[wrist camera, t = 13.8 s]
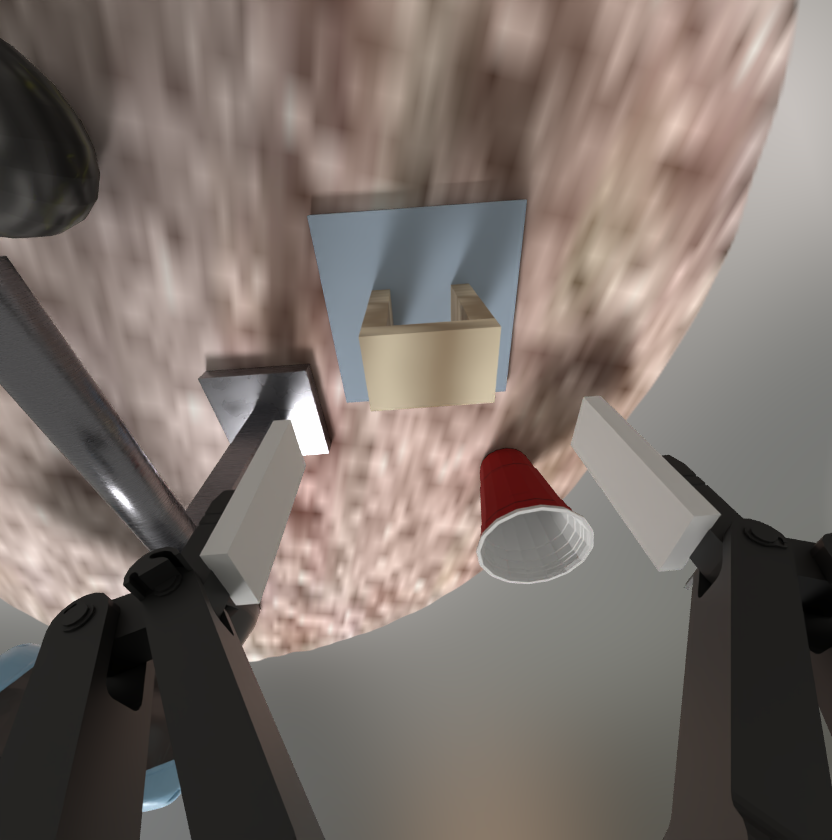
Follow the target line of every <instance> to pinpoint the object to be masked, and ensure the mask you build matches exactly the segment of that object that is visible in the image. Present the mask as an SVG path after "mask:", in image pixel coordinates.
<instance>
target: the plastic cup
mask: <svg viewBox="0 0 832 840" xmlns="http://www.w3.org/2000/svg"><path fill="white" fill-rule="evenodd" d="M480 481H481V487H480V497H481V518H482V525H481V535H480V540H479V543H478V546H477V551H476V552H477V556H478V560H479V564H480V566H481V567H482V568H483V569H484V570H485V571H486V572H487V573H489V574H490V576H492V577H495V578H498V579H500V580H503V581H505V582H510V583H521V584H531V583H538V582H544V581H550V580H552V579H555V578H557V577H560V576H562V575H564V574H567V573H569V572H570V571H572V570H573V569H574V568H575V567H577V566H578V565H580V564H581V563H582V562H583V561H585V559H586V558H587V556H588V554H589V553H590V551H591V550H592V548H593V545H594V531H593V530H592V528H591V527H590V525H589V524H588V522H587V521H586V520H585V518H584V517H583V516H581V515H580V514H578V513H576V512H574V511H572V510H571V508H570V507H568V506H567V505H566V504H565V503H564V501H563V500H561V499H560V498H559V497H558V495H557V494H556V493H555V491H554V490H553V489H552V488H551V486H550V485H549V484H548V483H547V481H546V480H545V479H544V478H543V476H542V475H541V474H540V473H539V471H538V470H537V469H536V468H534V466H533V465H532V464H531V462H530V461H529V460H528V458H527V457H526V456H525V455H524V454H523V453H522V452H520V451H518V450H516V449H509V448H505V449H500V450H496V451H494V452H492V453H491V454H489V455H488V456H487V457H486V458H485V459H484V460H483V461H482V464H481V467H480Z"/></svg>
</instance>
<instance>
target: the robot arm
mask: <svg viewBox="0 0 832 840" xmlns="http://www.w3.org/2000/svg"><path fill="white" fill-rule="evenodd" d="M571 446H572V448H573V449H574V450H575V452H576V453H577V455H578V456H579V458H580V459H581V460H582V462H583V463H584V465H585V466H586V468H587V469H588V470H589V472H590V473H591V475H592V476H593V478H594V479H595V481H596V482H597V483H598V485H599V486H600V488H601V489H602V491H603V492H604V493H605V495H606V496H607V498H608V499H609V501H610V502H611V503H612V505H613V506H614V508H615V509H616V511H617V512H618V513H619V515H620V516H621V518H622V519H623V521H624V522H625V524H626V525H627V526H628V528H629V529H630V531H631V532H632V533H633V535H634V536H635V538H636V539H637V541H638V542H639V544H640V545H641V547H642V548H643V549H644V551H645V552H646V554H647V555H648V556H649V558H650V559H651V561H652V562H653V564H654V565H655V566H656V568H657V569H658V571H668V570H669V571H670V570H682V569H683V567H684V566H685V564H686V563H687V562H688V560H689V559H691V560H692V562H693V563H694V564H695V565H696V567H697V569H696V571H695V572H694V573H693V575H692V576H691V578H690V579H689V580H688V581H687V583H686V585H685V587H684V588H685V589H689V588H690V587H691V585H693V587H692V598H691V609H690V620H689V621H690V622H689V631H688V642H687V653H686V664H685V676H684V686H683V696H682V707H681V719H680V729H679V740H678V750H677V761H676V773H675V783H674V794H673V805H672V814H671V820H670V824H669V828H668V830H667V832H666V834H665V836H664V838H663V840H832V786H831V779H830V773H829V766H828V761H827V755H826V748H825V742H824V736H823V730H822V724H821V718H820V712H819V707H820V710H821V712H822V715H823V717H824V719H825V722H826V724H827V726H828V729H829V731H830V733H831V736H832V533H830V534H825V535H824V536H823V537H822V538H821V539H820V540H819V541H818V542H817V543H813V542H807V541H801V540H796V539H790V538H785V537H784V536H783V535H782V534H781V533H780V532H778V531H777V530H775V529H774V528H772V527H771V526H769V525H766V524H764V523H761V522H760V521H756V520H752V519H743V518H742V517H741V516H740V515H739V514H738V513H736V511H735V510H734V509H732V508H731V507H730V506H729V505H728V504H727V503H726V502H725V501H724V500H723V499H722V498H721V497H719V496H718V495H717V494H716V493H715V492H714V491H713V490H712V489H711V488H710V487H709V486H708V485H705V482H704V481H702V480H701V479H700V478H699V477H696V474H695V473H694V472H693V471H692V470H690V468H688V467H687V466H686V465H685V464H684V463H682V462H681V461H679V460H677V459H675V458H674V457H672V456H670V455H664V456H663V455H662V456H661V455H660V454H659V453H658V452H657V451H656V450H655V449H654V448H653V447H652V446H651V445H650V444H649V443H648V442H647V441H646V440H645V439H644V438H643V437H642V436H641V435H640V434H639V433H638V432H637V431H636V430H635V429H634V428H633V427H632V426H631V425H630V424H629V423H628V422H627V421H626V420H625V419H624V418H623V417H622V416H621V415H620V414H619V413H618V412H617V411H616V410H615V409H614V408H612V407H611V406H610V405H609V404H608V403H607V402H606V401H605V400H604V399H603V398H602V397H601V396H588V397H583V400H582V404H581V408H580V411H579V415H578V419H577V423H576V426H575V430H574V434H573V438H572V441H571ZM305 467H306V464H305V461H304V458H303V455H302V452H301V449H300V446H299V443H298V440H297V437H296V434H295V431H294V428H293V425H292V422H291V419H289V420H276V421H273V422H272V424H271V426H270V428H269V430H268V431H267V433H266V435H265V437H264V439H263V441H262V442H261V444H260V446H259V448H258V450H257V452H256V453H255V455H254V457H253V459H252V461H251V462H250V464H249V466H248V468H247V470H246V472H245V473H244V475H243V477H242V479H241V481H240V483H239V484H238V486H237V488H236V490H225V491H223V492H222V493H221V494H220V495H219V496H217V497H216V498H215V499H214V500H213V501H212V502H211V504H210V506H209V507H208V509H207V511H206V512H205V516H203V517H202V519H201V521H200V522H199V526H197V527H196V529H195V531H194V532H193V534H192V536H191V537H190V539H189V540H188V542H187V544H186V545H185V547H184V549H183V550H182V552H181V553H180V552H179V551H178V550H177V549H176V548H173V547H163V548H158V549H156V550H154V551H151V552H149V553H147V554H146V555H144V556H143V557H141V558H140V559H138V560H137V561H136V562H135V563H134V564H133V565H132V566H131V567H130V568H129V570H128V572H127V573H126V575H125V577H124V583H123V585H124V586H125V587H126V588H127V589H128V590H129V591H130V592H131V593H130V594H127V595H125V596H122V597H119V598H116V599H113V600H111V599H110V598H109V597H108V596H106V595H105V594H104V593H92V594H89V595H86V596H83V597H81V598H80V599H78V600H76V601H74V602H72V603H71V604H70V605H68V606H67V607H66V608H64V609H63V610H62V611H61V612H60V613H59V614H58V615H57V616H56V617H55V618H54V619H53V621H52V622H51V624H50V626H49V627H48V629H47V631H46V634H45V637H44V639H43V642H42V645H37V644H31V643H30V644H29V643H27V644H21V645H18V646H15V647H13V648H11V649H9V650H7V651H6V652H4V653H3V654H1V655H0V840H140V830H141V819H142V812H144V811H149V810H154V809H158V808H161V807H164V806H167V805H169V804H170V803H172V802H173V801H174V800H175V799H176V798H177V797H178V796H179V795H180V794H181V793H182V798H183V802H184V807H185V811H186V816H187V821H188V825H189V830H190V835H191V839H192V840H325V838H324V835H323V833H322V831H321V828H320V826H319V824H318V821H317V819H316V817H315V815H314V812H313V810H312V807H311V805H310V803H309V800H308V798H307V796H306V794H305V791H304V789H303V787H302V784H301V782H300V780H299V777H298V775H297V773H296V770H295V768H294V766H293V763H292V761H291V759H290V756H289V754H288V752H287V749H286V747H285V745H284V743H283V740H282V738H281V736H280V734H279V731H278V729H277V726H276V724H275V722H274V719H273V717H272V715H271V712H270V710H269V708H268V705H267V703H266V701H265V698H264V696H263V694H262V692H261V689H260V687H259V685H258V682H257V680H256V678H255V675H254V673H253V671H252V668H251V666H250V664H249V661H248V659H247V657H246V654H245V652H244V650H243V647H242V645H243V644H244V642H245V641H246V639H247V638H248V636H249V634H250V633H251V632H252V630H253V629H254V627H255V625H256V622H257V619H258V616H259V613H260V607H259V605H258V604H259V603H260V601H261V598H262V595H263V592H264V589H265V586H266V583H267V580H268V577H269V574H270V571H271V568H272V565H273V562H274V559H275V556H276V553H277V550H278V547H279V544H280V541H281V538H282V535H283V532H284V529H285V527H286V524H287V521H288V518H289V515H290V512H291V509H292V506H293V503H294V500H295V497H296V494H297V491H298V488H299V485H300V482H301V479H302V476H303V473H304V470H305Z"/></svg>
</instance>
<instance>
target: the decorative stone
mask: <svg viewBox="0 0 832 840" xmlns="http://www.w3.org/2000/svg"><path fill="white" fill-rule="evenodd" d="M99 176H100V172H99V167H98V163H97V159H96V154H95V150H94V147H93V145H92V143H91V141H90V139H89V137H88V135H87V133H86V130H85V128H84V126H83V124H82V122H81V120H80V119H79V118H78V116H77V115H76V114H75V112H74V111H73V110H72V108H71V107H70V106H69V104H68V103H67V102H66V100H65V99H64V97H63V96H62V95H61V93H60V92H59V91H58V89H57V88H56V87H55V86H54V85H53V84H52V83H51V82H50V81H49V80H48V79H47V78H46V77H45V76H44V75H43V74H42V73H41V72H40V71H39V70H38V69H37V68H36V67H34V66H33V65H32V64H31V63H30V62H29V61H28V60H27V59H26V58H25V57H24V56H23V55H22V54H21V53H19V52H18V51H17V50H16V49H15V48H14V47H13V46H11V45H10V44H8V43H7V42H5V41H4V40H2V39H1V38H0V237H7V238H31V237H44V236H52V235H56V234H60V233H62V232H64V231H65V230H67V229H69V228H71V227H72V226H74V225H76V224H78V223H79V222H81V221H83V220H84V219H85V218H86V217H87V215H88V214H89V212H90V210H91V209H92V207H93V205H94V203H95V202H96V200H97V198H98V189H99Z"/></svg>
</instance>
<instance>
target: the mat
mask: <svg viewBox="0 0 832 840" xmlns="http://www.w3.org/2000/svg"><path fill="white" fill-rule="evenodd" d="M526 204H527V200H523V199H522V200H509V201H495V202H481V203H468V204H454V205H440V206H426V207H413V208H399V209H385V210H371V211H358V212H344V213H330V214H316V215H308V216H307V218H308V222H309V227H310V232H311V237H312V241H313V246H314V251H315V255H316V260H317V265H318V269H319V274H320V279H321V284H322V288H323V293H324V298H325V302H326V307H327V312H328V316H329V321H330V326H331V331H332V335H333V340H334V345H335V349H336V354H337V359H338V363H339V368H340V373H341V378H342V382H343V387H344V392H345V396H346V401H347V403H348V402H362V401H369V397H368V391H367V385H366V379H365V373H364V367H363V361H362V355H361V349H360V343H359V333H360V330H361V326H362V323H363V319H364V316H365V312H366V309H367V305H368V302H369V298H370V295H371V291H372V290H385V289H390V294H391V304H392V314H393V324H394V325H407V324H421V323H435V322H449V321H451V285H454V284H468V283H469V284H470V286H471V287H472V288H473V290H474V291H475V292H476V294H477V295H478V296H479V298H480V299H481V300H482V302H483V303H484V304H485V306H486V307H487V308H488V310H489V311H490V312H491V314H492V315H493V316H494V318H495V319H496V320H497V322H498V323H499V324H500V326H501V335H500V346H499V357H498V368H497V379H496V390H495V392H501V391H506V383H507V374H508V365H509V356H510V347H511V338H512V329H513V320H514V311H515V302H516V293H517V284H518V275H519V266H520V257H521V249H522V240H523V231H524V222H525V213H526Z"/></svg>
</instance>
